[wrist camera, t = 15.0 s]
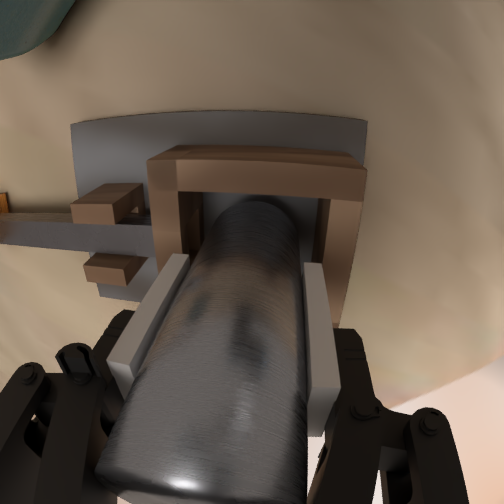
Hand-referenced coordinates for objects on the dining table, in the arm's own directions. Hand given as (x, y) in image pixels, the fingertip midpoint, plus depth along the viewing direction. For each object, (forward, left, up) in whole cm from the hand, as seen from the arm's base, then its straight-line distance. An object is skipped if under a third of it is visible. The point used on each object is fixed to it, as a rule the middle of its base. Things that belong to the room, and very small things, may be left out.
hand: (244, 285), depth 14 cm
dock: (0, -3, -8) cm, 8 cm away
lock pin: (0, -15, -7) cm, 17 cm away
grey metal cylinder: (0, 0, -4) cm, 4 cm away
